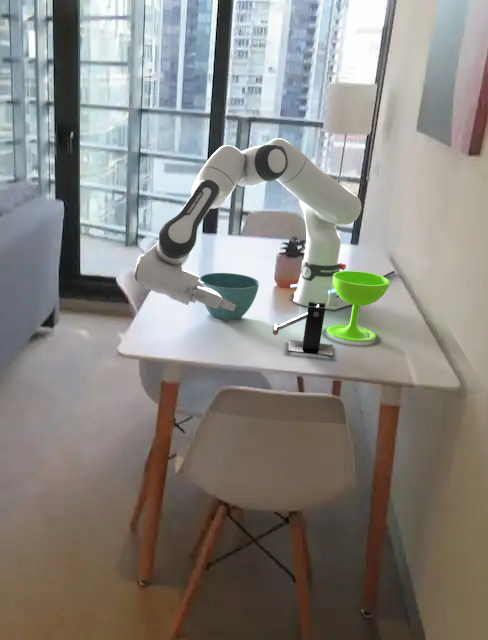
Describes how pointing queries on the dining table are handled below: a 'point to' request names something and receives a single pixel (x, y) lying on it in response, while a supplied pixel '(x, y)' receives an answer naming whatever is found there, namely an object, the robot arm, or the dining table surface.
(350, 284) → the wineglass
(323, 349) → the bracket
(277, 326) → the lever
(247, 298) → the teal ceramic bowl
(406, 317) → the dining table surface
